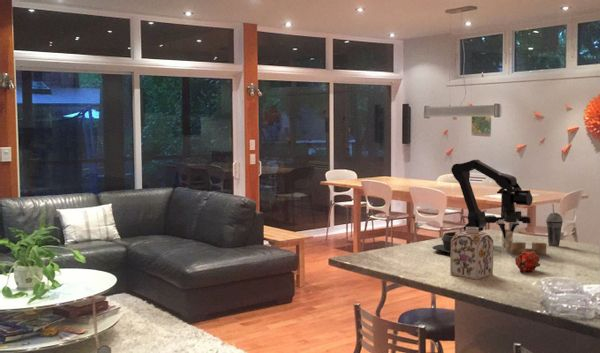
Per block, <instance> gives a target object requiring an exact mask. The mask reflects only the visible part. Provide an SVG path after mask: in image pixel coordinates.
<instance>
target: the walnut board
mask: <svg viewBox="0 0 600 353" xmlns="http://www.w3.org/2000/svg"><path fill="white" fill-rule="evenodd" d="M526 244H527V243H526V242H515V241H513V242H512V244H511V254H512V255H519V253H522V252H525V250H528V251H529V252H535V254H537V255H546V254H547V243H546V242H531V248H526Z"/></svg>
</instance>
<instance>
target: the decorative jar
mask: <svg viewBox="0 0 600 353" xmlns="http://www.w3.org/2000/svg"><path fill="white" fill-rule="evenodd" d="M456 232H457V233H456V234H455V235H454V236H453V238H452V240H451V254H449V256H450V262H449V267H450V268H449V270H450V272H449V274H450V276H455V277H460V278H463V279H464V278H465V279H469V280H476V281H477V280H479V281H480V280H481V279H484V278H487V277H490V276H493V275H494V274H493V273H494V239H493V238H492V236H491V235H489V233H487V232H484V231H481V232H480V231H479V228H477V227H466V231H464V230H460V231H456Z"/></svg>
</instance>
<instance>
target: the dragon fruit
mask: <svg viewBox="0 0 600 353" xmlns="http://www.w3.org/2000/svg"><path fill="white" fill-rule="evenodd" d="M514 259H515V260H514V262H515V265H516V267H517V268H518V269H519V272H520V273H526V272H528V271H529V272H531V273H534V272H535V271H536V268H538V267H541V264H540V263H539V262H540V259H541V258H539V256H538V255H537V254H535V252H529V251H528V250H525V252H522V253H519V255H518V256H517V257H516V258H514Z"/></svg>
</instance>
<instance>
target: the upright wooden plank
mask: <svg viewBox="0 0 600 353" xmlns="http://www.w3.org/2000/svg"><path fill="white" fill-rule="evenodd" d="M513 235H514V231H513V232H512V231H511V230H510V229H509V228H508V227H507V226H505V238H504V237H503V234H502V233H501V246H502V247H503V248H505V250H507V251H511V244H512V242H514V241H513V237H514V236H513Z"/></svg>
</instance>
